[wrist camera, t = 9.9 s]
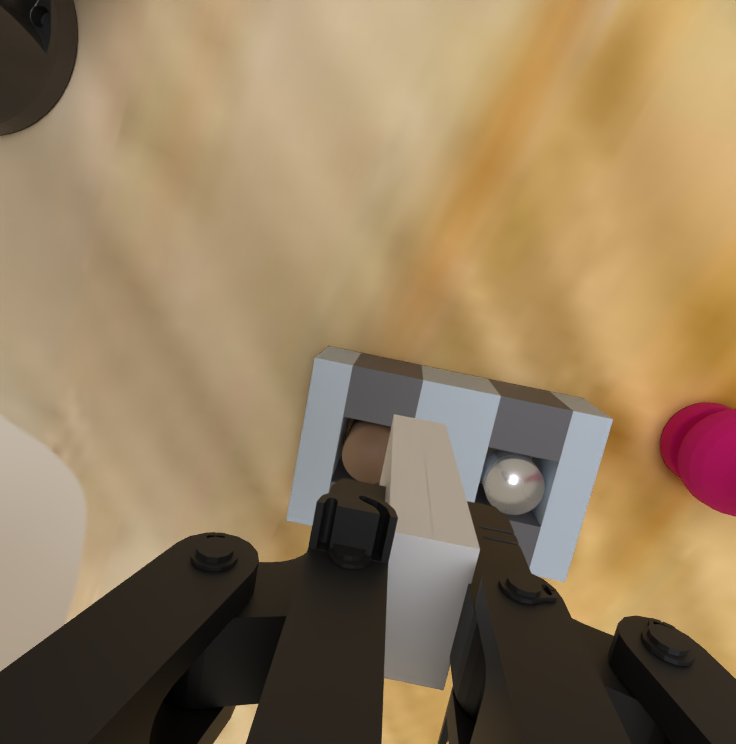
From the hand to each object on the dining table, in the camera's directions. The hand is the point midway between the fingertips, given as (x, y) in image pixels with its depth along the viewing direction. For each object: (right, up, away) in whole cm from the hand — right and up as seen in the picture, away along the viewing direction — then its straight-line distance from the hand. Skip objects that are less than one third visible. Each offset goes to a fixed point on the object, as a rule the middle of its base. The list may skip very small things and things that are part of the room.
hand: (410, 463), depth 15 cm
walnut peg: (-1, -2, +27) cm, 27 cm away
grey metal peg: (+9, -4, +26) cm, 28 cm away
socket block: (+4, -3, +27) cm, 27 cm away
